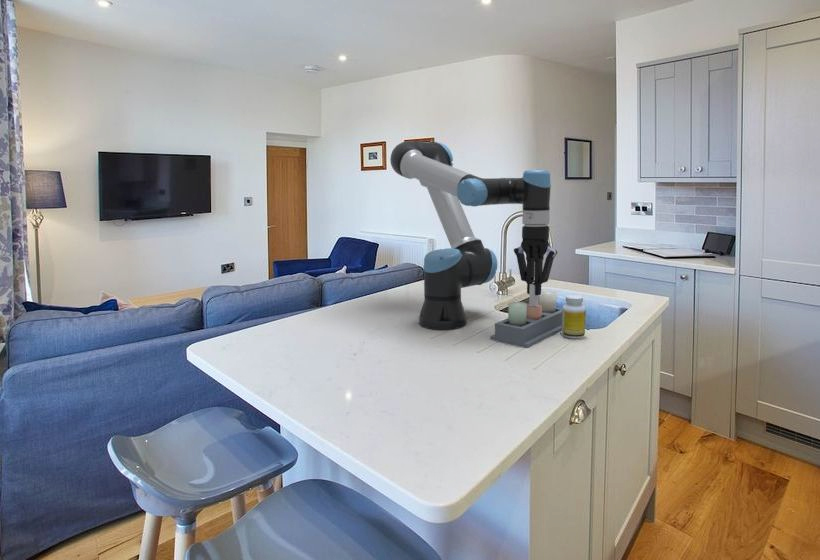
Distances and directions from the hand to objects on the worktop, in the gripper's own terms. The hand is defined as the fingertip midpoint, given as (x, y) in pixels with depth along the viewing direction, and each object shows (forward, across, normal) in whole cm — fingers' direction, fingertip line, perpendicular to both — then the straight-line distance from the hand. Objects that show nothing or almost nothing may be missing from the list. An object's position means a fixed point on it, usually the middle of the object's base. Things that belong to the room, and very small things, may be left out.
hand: (533, 305), depth 148 cm
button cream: (+4, 0, +9) cm, 10 cm away
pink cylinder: (+6, 0, 0) cm, 6 cm away
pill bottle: (+9, +10, +4) cm, 14 cm away
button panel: (+8, 0, 0) cm, 8 cm away
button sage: (+4, 0, -9) cm, 10 cm away
